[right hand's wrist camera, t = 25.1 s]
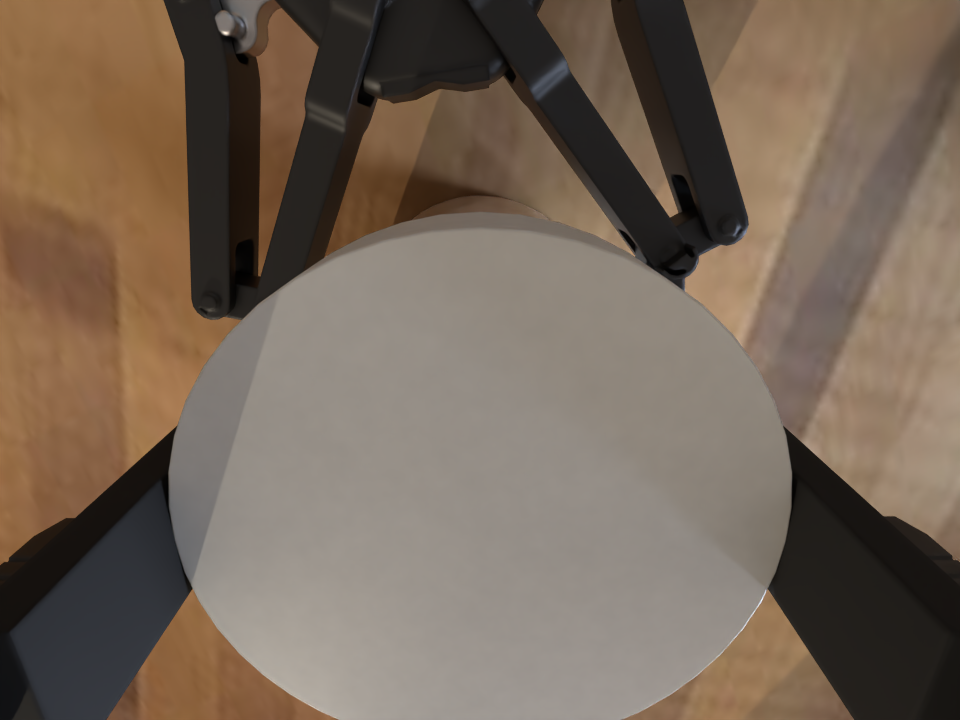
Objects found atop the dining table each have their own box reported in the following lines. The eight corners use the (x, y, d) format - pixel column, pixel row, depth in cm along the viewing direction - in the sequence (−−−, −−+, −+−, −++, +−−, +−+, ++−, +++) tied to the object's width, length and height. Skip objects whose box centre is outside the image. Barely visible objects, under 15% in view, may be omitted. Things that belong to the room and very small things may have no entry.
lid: (305, 108, 10) (254, 96, 8) (842, 342, 11) (930, 388, 9) (177, 579, 14) (118, 662, 11) (592, 705, 15) (611, 800, 13)
